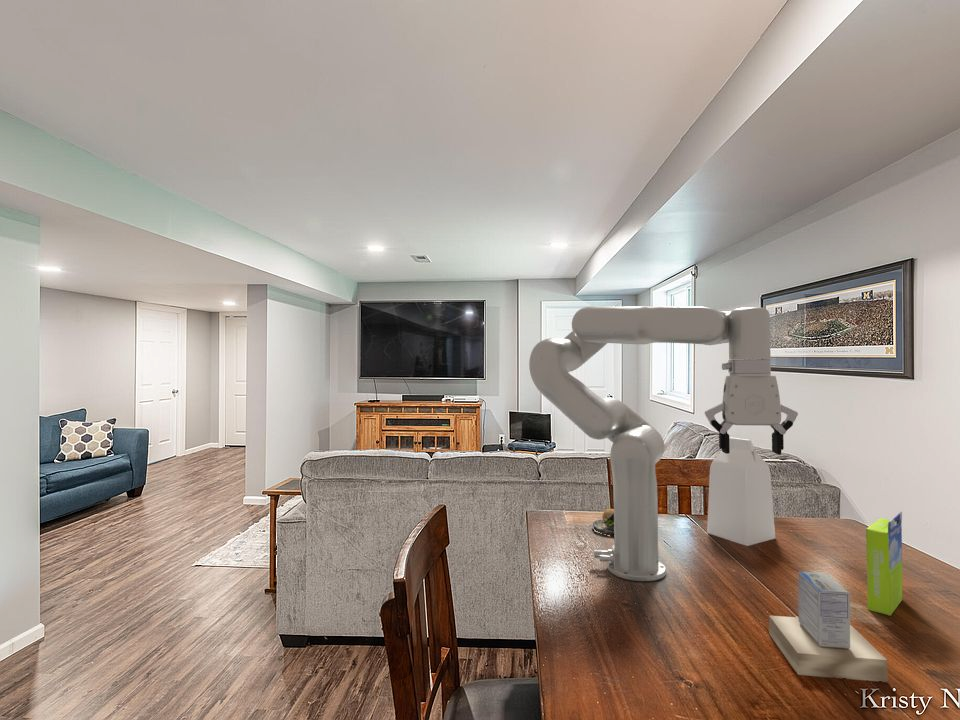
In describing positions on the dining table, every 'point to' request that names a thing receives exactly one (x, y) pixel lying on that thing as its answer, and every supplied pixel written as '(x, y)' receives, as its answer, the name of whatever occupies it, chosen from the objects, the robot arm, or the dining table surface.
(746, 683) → the dining table surface
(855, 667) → the maple block
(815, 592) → the medicine box
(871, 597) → the box
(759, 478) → the milk
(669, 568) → the dining table surface
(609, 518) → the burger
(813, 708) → the dining table surface
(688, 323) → the robot arm
